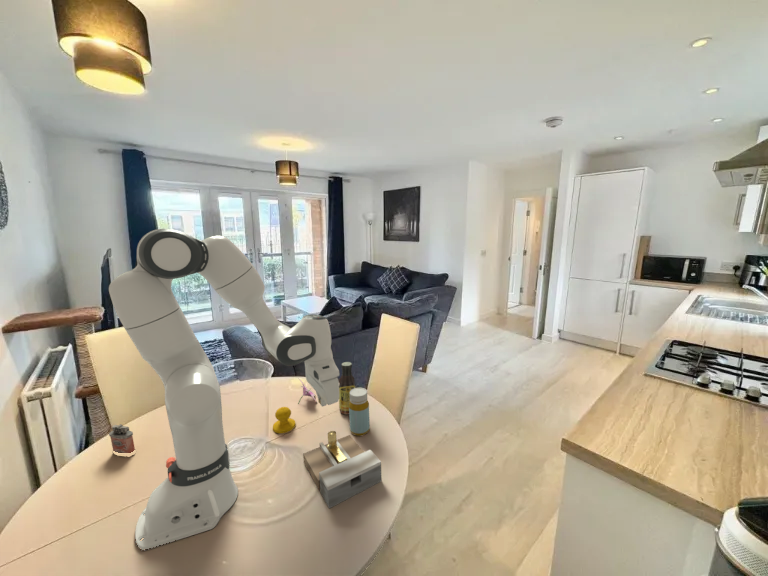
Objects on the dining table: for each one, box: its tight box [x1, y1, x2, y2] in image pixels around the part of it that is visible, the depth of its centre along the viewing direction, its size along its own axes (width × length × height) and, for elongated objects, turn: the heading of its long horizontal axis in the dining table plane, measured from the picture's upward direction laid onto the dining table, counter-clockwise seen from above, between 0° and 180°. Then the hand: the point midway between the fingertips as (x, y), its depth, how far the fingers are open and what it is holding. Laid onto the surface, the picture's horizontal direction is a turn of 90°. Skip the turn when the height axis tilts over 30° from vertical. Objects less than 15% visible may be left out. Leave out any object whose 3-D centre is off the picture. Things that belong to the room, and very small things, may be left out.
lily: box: [297, 377, 318, 405], centre depth 132 cm, size 12×12×10 cm
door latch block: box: [302, 434, 383, 509], centre depth 92 cm, size 20×16×6 cm
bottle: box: [348, 387, 370, 437], centre depth 111 cm, size 7×7×15 cm
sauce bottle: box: [338, 361, 356, 415], centre depth 123 cm, size 7×6×20 cm
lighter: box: [108, 423, 136, 453], centre depth 102 cm, size 8×3×10 cm, turn 76°
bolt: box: [327, 430, 347, 464], centre depth 94 cm, size 9×3×6 cm, turn 33°
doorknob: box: [272, 406, 297, 435], centre depth 115 cm, size 8×8×8 cm
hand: (322, 404), depth 102 cm, fingers closed
